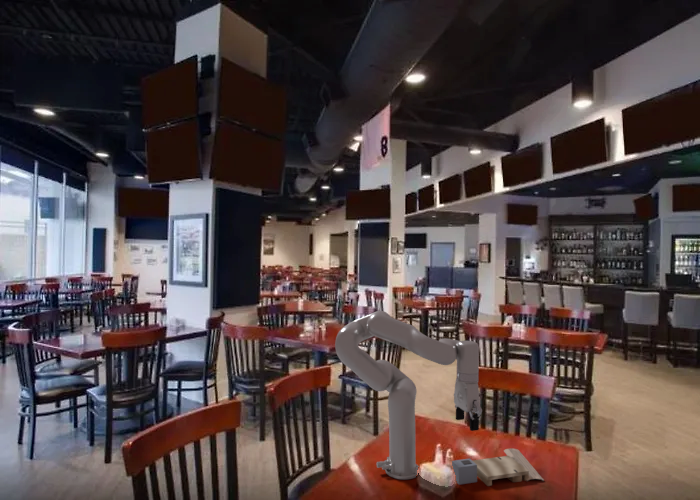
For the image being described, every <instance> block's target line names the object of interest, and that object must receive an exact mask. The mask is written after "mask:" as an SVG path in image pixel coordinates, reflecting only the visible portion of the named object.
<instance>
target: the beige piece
mask: <svg viewBox="0 0 700 500" xmlns="http://www.w3.org/2000/svg"><path fill="white" fill-rule="evenodd" d="M503 452H504V453H505V456H510V457H511V458H512V459H514V460H515V461H516V462H518V463H519V464H520V465H522V466H523V467H524V468H526V469H527V470H528V471H529V478H528V479H527V480H526V482H529V481H530V480H541V481H542V482H545V479H544V478H543V477H542V476H541V475H540V473H539V472H538V471H537V470H536V469H535V467H534V466H533V465H532V464H531V463H530V461H528V459H527V458H526V457H525V456H524V455H523V453H522V452H521V451H520V450H519V449H518V448H506V449H504V450H503Z"/></svg>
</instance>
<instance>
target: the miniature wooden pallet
mask: <svg viewBox="0 0 700 500" xmlns="http://www.w3.org/2000/svg"><path fill="white" fill-rule="evenodd" d="M471 460H472V459H471ZM472 461H473V462H474V463H475V464H477V478H479V479H480V481H481V482H482V483H484V484H485V485H486V486H487V487H491V486H493V480H498V479H500V480H501V479H506V478H507V479H508V480H510V481H511V482H512V483H518V482H519V483H520V482H522V481H526V480H527V479H528V478H529V471H528V470H527V469H526V468H524V467H523V466H522V465H520V464H519V463H518V462H516V461H515V460H514V459H512V458H511V457H510V456H507V455H503V456H496V457H487V458H483V459H482V458H481V459H473V460H472ZM526 482H527V481H526Z"/></svg>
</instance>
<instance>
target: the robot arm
mask: <svg viewBox="0 0 700 500" xmlns="http://www.w3.org/2000/svg"><path fill="white" fill-rule="evenodd" d="M372 337H376V338H379V339H380V340H384V341H387V342H389V343H392V344H394V345H397V346H400V347H402V348H405V349H406V350H408V351H409V352H410V353H413V354H415V355H417V356H419V357H420V358H423V359H425V360H427V361H430V362H433V363H435V364H439V365H442V366H449V365H452V364H453V363H454V362H456V379H455V381H454V383H455V384H454V393H453V403H454V407H455V420H456V421H463V420H465V413H469V416H470V418H469V431H472V432H473V431H479V430H480V419H481V416H482V412H483V409H482V407H481V406H480V389H479V388H480V387H479V371H480V370H479V366H480V364H479V363H480V361H479V357H480V356H479V355H480V354H479V353H480V349H479V344H478V343H477V342H475V341H474V340H457V339H452V338H448V337H447V338H444V337H443V338H441V339H439V340H437V339H433V338H432V337H429V336H427V335H425V334H424V333H423V332H421V331H420V330H418V328H416V327H415V326H414V325H412V324H410V323H407V322H404V321H401V320H399V319H397V318H393V317H391V314H389V313H388V312H386V311H384V310H376V311H375V312H372V313H370V314H368V315H365V316H363V317H360V318H357V319H355V320H353V321H351V322H349V323H348V324H346V325H344V326H343V327H342V328H341V329H340V330H339V331H338V332H337V335H336V337H335V345H334V348H335V353H336V355H337V357H338V359H339V360H340V361H341V363H343V365H344V366H346V367H347V368H348V369H349V370H350V371H352V372H353V373H355V375H356V376H358V378H359V379H361V380H362V381H363V383H366V385H368V386H369V387H370V388H371V389H373V390H374V391H376V392H383V391H387V392H388V396H387V407H388V408H387V409H388V432H389V433H388V438H389V440H388V447H389V448H388V449H389V451H388V454H389V455H388V456H386V459H385V460H384V461H381V460H380V461H376V464H375V465H376V468H381V469H382V470H385V473H386V474H387V475H388V476H389V477H391V478H394V479H396V480H405V481H406V480H412V479H415V478H417V477H416V475H417V470H418V467H419V468H420V466H419V465H418V464H417V463H416V462H417V461H416V397H417V387H416V384H415V383H414V381H413V380H412V379H411V378H410V377H409V376H408V375H407V374H405V373H404V372H403V371H401V370H400V369H399V368H398V367H396V365H394V364H393V363H391V362H390V361H388V360H385V359H378V360H375V358H373V357H372V356H371V355H370V354H369V353H367V352H366V351H364V350H363V349H362V348H361V347H360V346H359V344H360V343H361V342H363V341H365V340H368V339H370V338H372Z"/></svg>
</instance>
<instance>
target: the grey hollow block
mask: <svg viewBox="0 0 700 500" xmlns="http://www.w3.org/2000/svg"><path fill="white" fill-rule="evenodd" d="M452 466H453V469H454V472H455V475H456V481H457V482H456V481H455V482H456V484H458V485H465V484H471V483H472V484H473V483H477V482H478V476H477V464H475V463H474V462H473V461H472V459H471V458H465V459H464V458H463V459H456V460H452V461H451V467H452Z"/></svg>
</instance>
